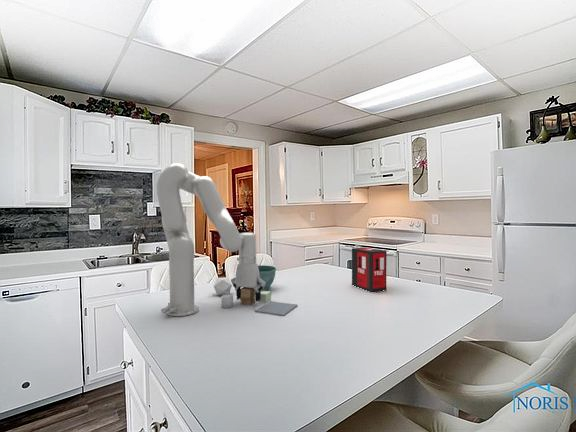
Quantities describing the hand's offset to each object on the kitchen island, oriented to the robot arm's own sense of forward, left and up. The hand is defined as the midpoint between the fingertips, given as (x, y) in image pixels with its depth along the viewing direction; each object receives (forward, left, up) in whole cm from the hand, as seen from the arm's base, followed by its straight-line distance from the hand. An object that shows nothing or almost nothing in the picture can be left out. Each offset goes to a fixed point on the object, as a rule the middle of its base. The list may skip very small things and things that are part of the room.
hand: (248, 299), depth 143 cm
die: (+8, +19, -2) cm, 21 cm away
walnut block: (0, 0, -2) cm, 2 cm away
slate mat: (-2, -15, -2) cm, 15 cm away
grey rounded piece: (-7, +6, -2) cm, 10 cm away
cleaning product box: (+47, -44, -2) cm, 64 cm away
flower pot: (+24, +7, -2) cm, 25 cm away
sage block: (+6, -5, -2) cm, 8 cm away
